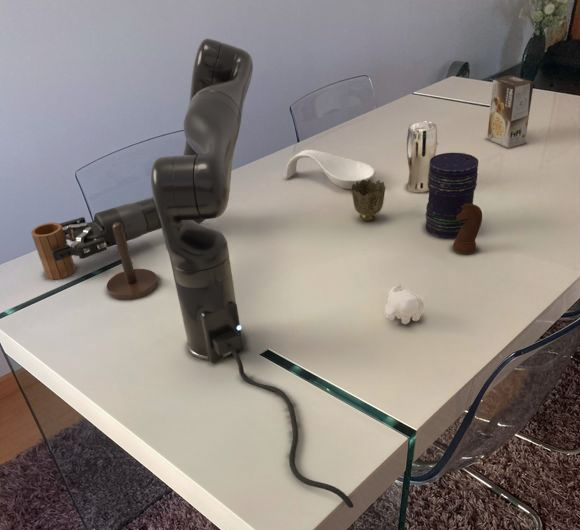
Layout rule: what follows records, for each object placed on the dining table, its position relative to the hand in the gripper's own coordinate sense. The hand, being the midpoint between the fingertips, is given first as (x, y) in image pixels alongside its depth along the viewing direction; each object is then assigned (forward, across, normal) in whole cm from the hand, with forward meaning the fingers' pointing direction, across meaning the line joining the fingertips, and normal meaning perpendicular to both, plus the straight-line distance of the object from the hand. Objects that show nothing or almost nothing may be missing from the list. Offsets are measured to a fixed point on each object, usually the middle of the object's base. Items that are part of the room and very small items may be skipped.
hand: (47, 248), depth 132 cm
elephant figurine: (-45, +59, +6) cm, 75 cm away
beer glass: (-85, +19, +6) cm, 87 cm away
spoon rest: (-71, +1, +6) cm, 71 cm away
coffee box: (-123, +12, +6) cm, 124 cm away
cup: (-65, +24, +6) cm, 70 cm away
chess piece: (-71, +48, +6) cm, 86 cm away
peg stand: (-11, +16, +6) cm, 20 cm away
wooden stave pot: (-1, 0, +6) cm, 6 cm away
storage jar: (-75, +39, +6) cm, 85 cm away
